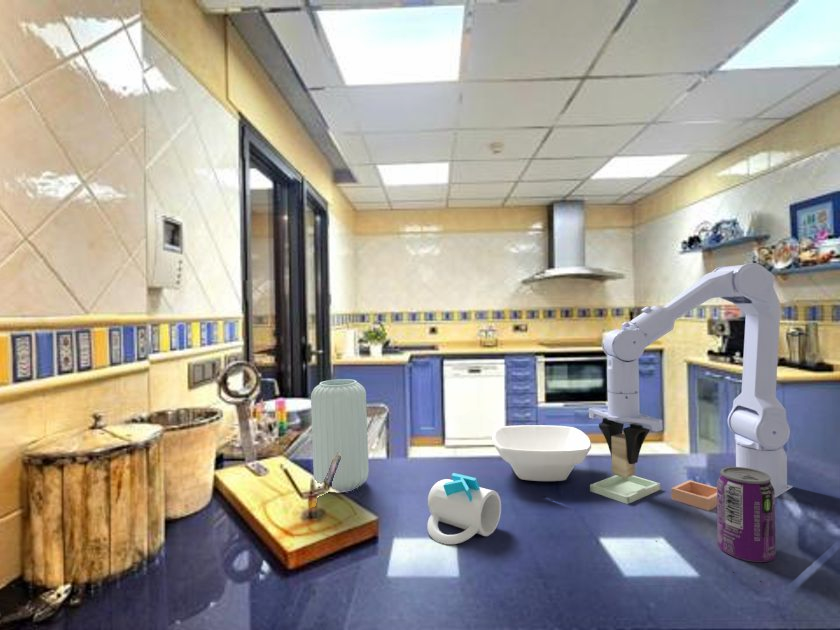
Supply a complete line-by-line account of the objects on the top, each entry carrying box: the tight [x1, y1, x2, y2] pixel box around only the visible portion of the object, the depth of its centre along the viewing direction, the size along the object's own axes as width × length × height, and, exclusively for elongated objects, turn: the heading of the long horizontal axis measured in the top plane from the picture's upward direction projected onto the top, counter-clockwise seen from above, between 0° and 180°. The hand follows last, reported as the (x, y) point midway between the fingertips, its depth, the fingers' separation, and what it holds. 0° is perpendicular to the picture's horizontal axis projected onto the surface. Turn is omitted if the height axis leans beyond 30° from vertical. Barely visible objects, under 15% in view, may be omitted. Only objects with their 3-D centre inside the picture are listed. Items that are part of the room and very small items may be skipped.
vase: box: [310, 378, 370, 491], centre depth 104 cm, size 12×12×22 cm
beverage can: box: [716, 466, 776, 563], centre depth 72 cm, size 7×7×12 cm
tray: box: [589, 475, 661, 505], centre depth 96 cm, size 11×8×2 cm
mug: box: [426, 472, 502, 545], centre depth 83 cm, size 12×9×12 cm
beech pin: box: [611, 433, 636, 478], centre depth 96 cm, size 3×3×8 cm
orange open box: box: [670, 479, 717, 512], centre depth 91 cm, size 7×7×3 cm
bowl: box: [491, 424, 592, 482], centre depth 107 cm, size 21×21×9 cm
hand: (624, 460), depth 96 cm, fingers closed on beech pin, 3 cm apart
